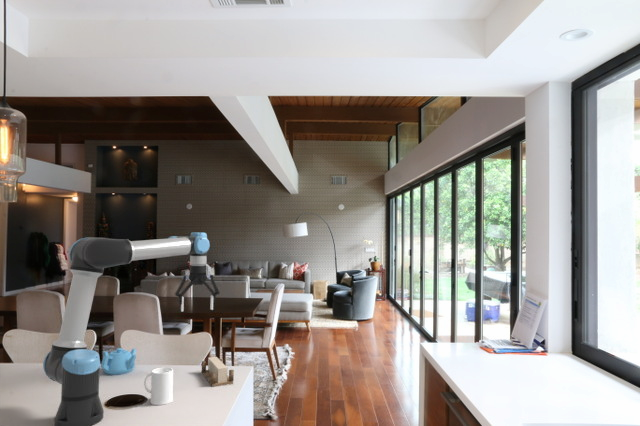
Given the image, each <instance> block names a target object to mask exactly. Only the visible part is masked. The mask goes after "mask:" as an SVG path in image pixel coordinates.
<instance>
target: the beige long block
mask: <svg viewBox="0 0 640 426" xmlns="http://www.w3.org/2000/svg"><path fill="white" fill-rule="evenodd" d="M207 358H208V359H207V370H208V371H209V372H210V374H211V372H216V381H217V382H218V383H221V382H227V375H228V366H227V365H226V364H224V362H223V363H222V362H221V361H220V360H219V359H220V358H218V357H217V356H212V357H207Z"/></svg>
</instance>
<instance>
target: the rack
mask: <svg viewBox="0 0 640 426" xmlns="http://www.w3.org/2000/svg"><path fill="white" fill-rule="evenodd" d="M218 359H219V360H220V361H221V362H222V363H223V364H224V359H222V358H221V359H220V358H218ZM201 374H202V375H203V376H204V378H207V379H206V380H207V381H208V383H209V384H210V386H212V388H213V387H220V386H221V385H222V386H228V385H227V384H229V385H233V384H234V377H235V376H234V375H235V374H234V369H229V370H228V374H227V382H221V383H218V382H217V381H216V372H211V374H210V372H209V371H208V369H207V361H206V360H204V361H203V360H202V361H201Z"/></svg>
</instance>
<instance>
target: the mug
mask: <svg viewBox="0 0 640 426" xmlns="http://www.w3.org/2000/svg"><path fill="white" fill-rule="evenodd" d="M149 377H151V378H150V380H151V385H150V386H151V387H150V389H151V390H150V389H149V388H148V387H147V384H146V383H147V379H148V378H149ZM143 385H144V389H145V390H146V392H148V393H149V394H150V402H149V403H150V404H151V405H153V406H163V405H164V406H165V405H168V404H170V403H172V402H173V401H174V395H173V393H174V390H173V389H174V369H173V368H172V367H158V368H154V369H152V370H151V372H150V373H148V374H147V375H146V376H145V378H144V380H143Z"/></svg>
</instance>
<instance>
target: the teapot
mask: <svg viewBox="0 0 640 426" xmlns="http://www.w3.org/2000/svg"><path fill="white" fill-rule="evenodd" d="M136 352H137V348H131V351H129V350H127V349H125V350H124V348H122V347H118V348H116V349H115V350H114V351H110V352H108V351H107V350H104V351H102V355H103V357H102V360H101V362H100V368H101V369H102V370H103V371H102V372H104V373H105V374H106V375H110V376H112V375H113V376H117V375H118V376H119V375H123V374H124V375H125V374H128V373H130V372H132V371H133V369H134V368H135V366H136V364H135V363H136V362H135V361H136V358H137V355H136Z"/></svg>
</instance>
